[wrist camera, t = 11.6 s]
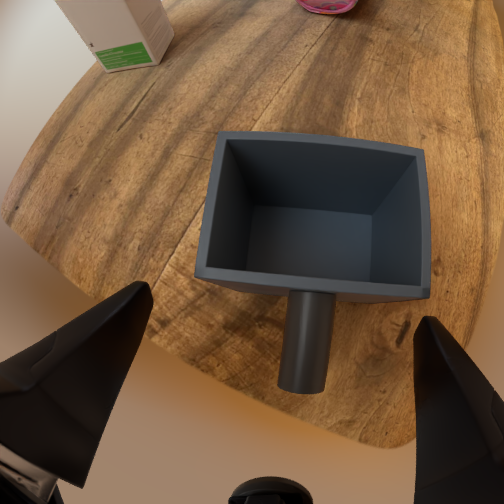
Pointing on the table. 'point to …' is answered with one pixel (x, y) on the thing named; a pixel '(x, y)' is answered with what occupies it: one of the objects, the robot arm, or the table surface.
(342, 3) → the pencil case
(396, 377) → the table surface
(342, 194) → the grey box with peg
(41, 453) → the robot arm
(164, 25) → the cosmetic box
